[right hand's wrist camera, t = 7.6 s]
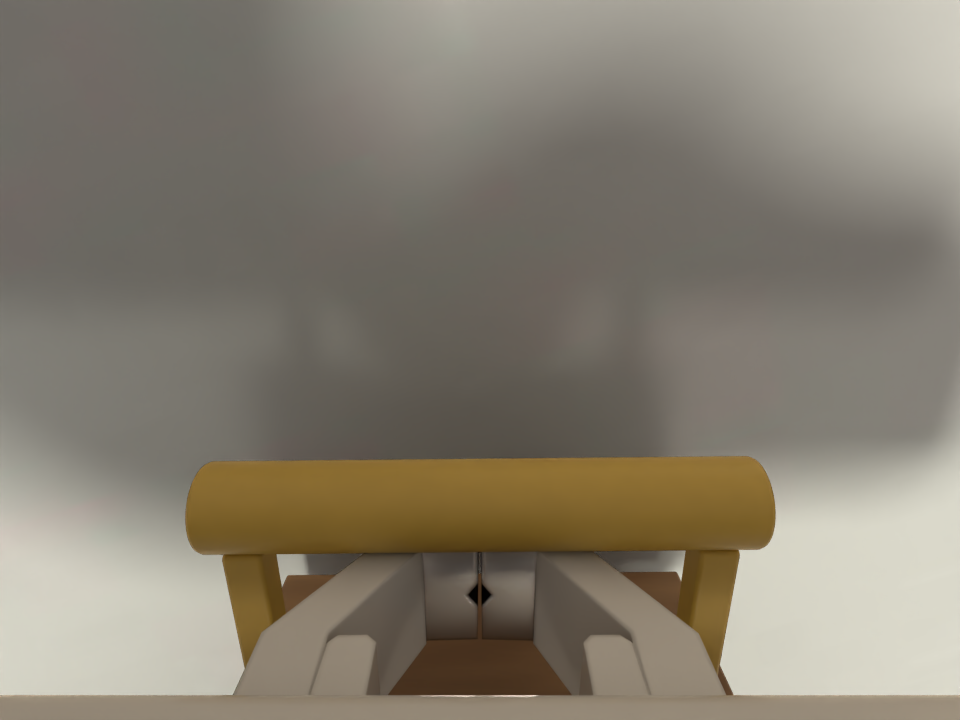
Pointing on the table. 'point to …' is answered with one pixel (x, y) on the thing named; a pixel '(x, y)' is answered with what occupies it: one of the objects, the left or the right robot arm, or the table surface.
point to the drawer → (483, 537)
